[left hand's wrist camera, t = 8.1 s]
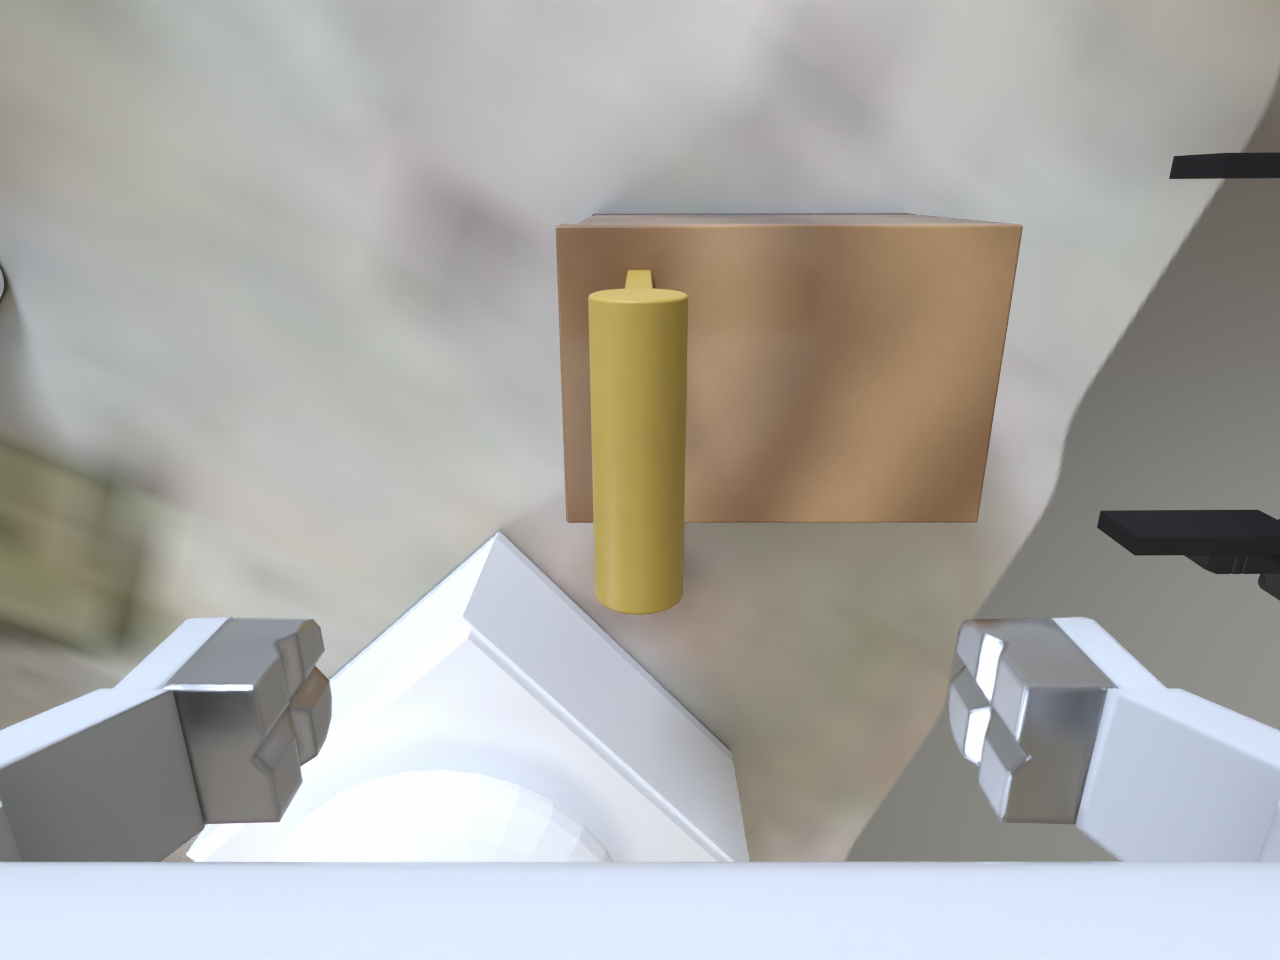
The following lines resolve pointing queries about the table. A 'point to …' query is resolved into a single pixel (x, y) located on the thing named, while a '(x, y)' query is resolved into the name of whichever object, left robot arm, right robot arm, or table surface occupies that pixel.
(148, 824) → the left robot arm
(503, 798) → the butter dish
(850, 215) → the chest
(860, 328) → the lid
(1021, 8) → the table surface
